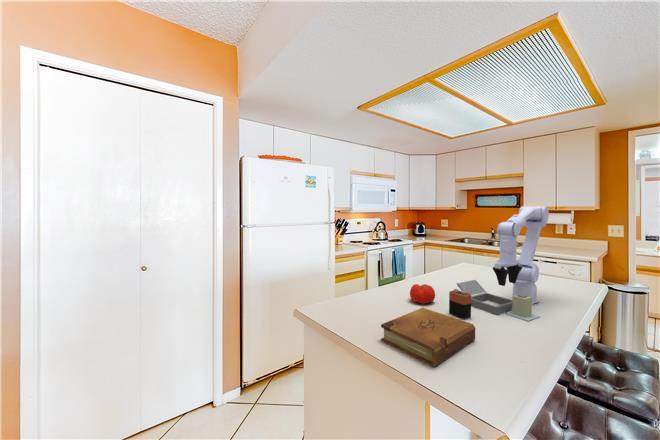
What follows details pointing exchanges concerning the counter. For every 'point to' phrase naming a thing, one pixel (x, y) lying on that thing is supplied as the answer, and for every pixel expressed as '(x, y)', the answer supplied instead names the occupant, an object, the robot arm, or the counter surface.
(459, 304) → the battery
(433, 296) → the tomato
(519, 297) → the block
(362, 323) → the counter surface
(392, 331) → the diary
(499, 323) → the counter surface
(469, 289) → the case
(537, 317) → the mat
